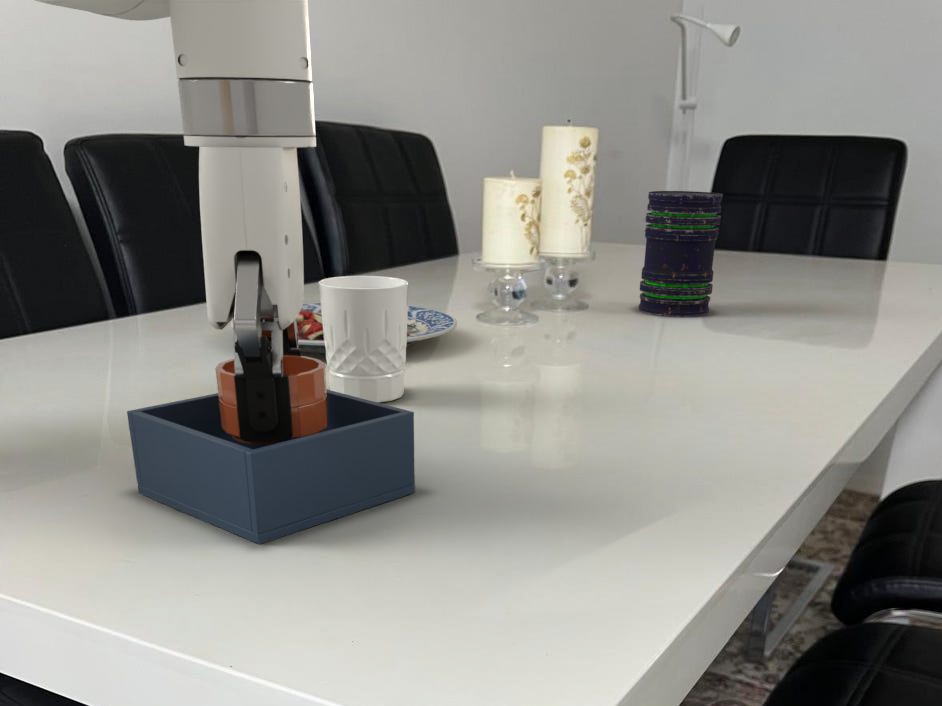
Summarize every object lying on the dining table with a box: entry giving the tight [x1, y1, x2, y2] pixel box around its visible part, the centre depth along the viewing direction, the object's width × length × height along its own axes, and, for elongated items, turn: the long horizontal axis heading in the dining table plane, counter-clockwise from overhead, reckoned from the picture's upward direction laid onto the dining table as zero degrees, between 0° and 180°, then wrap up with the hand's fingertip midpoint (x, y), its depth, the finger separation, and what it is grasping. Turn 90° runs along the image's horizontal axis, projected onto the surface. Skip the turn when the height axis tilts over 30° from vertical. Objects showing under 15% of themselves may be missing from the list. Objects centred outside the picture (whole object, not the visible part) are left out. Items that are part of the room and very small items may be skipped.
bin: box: [126, 389, 416, 545], centre depth 66 cm, size 13×13×6 cm
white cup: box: [318, 275, 409, 403], centre depth 90 cm, size 8×8×10 cm
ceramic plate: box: [230, 302, 458, 355], centre depth 115 cm, size 26×26×3 cm
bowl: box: [215, 355, 328, 445], centre depth 65 cm, size 7×7×4 cm
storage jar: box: [638, 190, 724, 318], centre depth 135 cm, size 10×10×15 cm
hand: (274, 421), depth 65 cm, fingers closed on bowl, 6 cm apart
